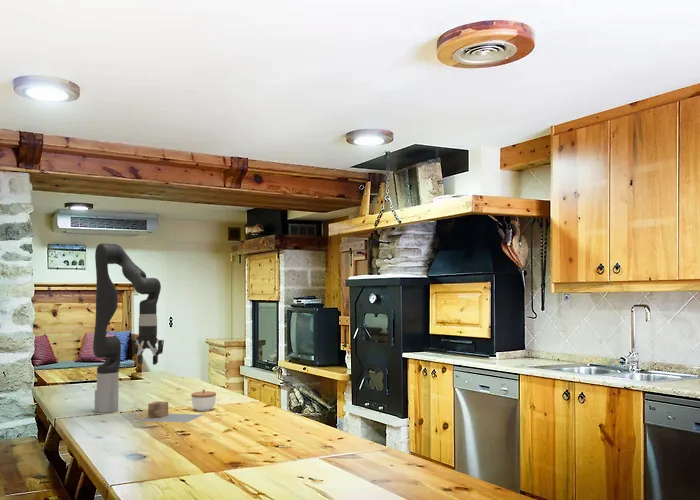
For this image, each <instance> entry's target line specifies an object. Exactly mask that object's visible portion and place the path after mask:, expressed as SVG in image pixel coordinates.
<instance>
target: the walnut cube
mask: <svg viewBox="0 0 700 500" xmlns="http://www.w3.org/2000/svg"><path fill="white" fill-rule="evenodd" d="M147 412H148V414H147V417H148V419H162V418H165V417H167V416H168V414H169V401H153V402H151V403H150V402H149V403H148V405H147Z"/></svg>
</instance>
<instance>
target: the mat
mask: <svg viewBox="0 0 700 500" xmlns="http://www.w3.org/2000/svg"><path fill="white" fill-rule="evenodd" d="M202 416H203V414H197V413H196V414H191V413H190V414H189V413H168V416H167V417H165V418H162V419H148V416H146V417H144V418H141V419H138V420H137V422H159V423H160V422H161V423H163V422H164V423H165V422H166V423H172V422H173V423H189V422H191V421H193V420H196V419H198V418H200V417H202Z"/></svg>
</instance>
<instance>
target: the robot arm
mask: <svg viewBox="0 0 700 500" xmlns="http://www.w3.org/2000/svg"><path fill="white" fill-rule="evenodd" d="M94 261H95V274H96V288H95V289H96V291H95V325H94V331H93V332H94V333H93V342H92V351H93V355H94V356H95V358H97V359H105V358H106V360H105V361H104V362H103V363H102V364H100V365H98V366H97V368H96V389H95V390H94V412H95V413H99V414H104V413H105V414H106V413H107V414H109V413H115V412H118V411H119V397H120V396H119V391H120V390H119V385H120V383H119V382H120V381H119V379H120V378H119V377H120V376H119V374H120V373H119V372H120V371H119V369H120V366H121V355H122V354H121V353H122V344H121V340H120V338H119V337H117V336H114V335H113V336H107V330H108V325H109V323H110V322H111V320H112V318H113V317H114V315H115V313H116V312H117V309H118V303H119V302H118V299H119V297H118V296H119V294H118V290H117V288H116V286H115V284H114V282H113V281H112V279H111V278H110V275H109V268H108V267H109V265H118V266H120V267H121V272H122V275H123V276H124V278H125V279H126V280H127V281H129V282H130V283H131V284H132V286H133V288H134V290H135V291H136V292H137V294H140V295H147V297H146V299H143V300H140V302H139V309H138V310H139V314H138V315H139V316H138V339H132V340H131V346H132V353H133V355H136V356H137V364H138V365H143V363H144V362H143V361H144V359H143V357H144V355H143V353H144V351H145V350H146V349H149V350H150V351H151V353H152V365H153V366H155V365H157V364H158V363H159V355H162V354H163V351H164V350H163V349H164V343H165V340H164V339H158V336H157V335H158V316H157V311H158V310H157V309H158V308H157V307H158V306H157V304H158V302H159V301H158V300H159V297H160V293H161V290H162V289H161V288H162V286H161V282H160V280H159V279H158V278H155V277H147V274H146V272H145V271H144V270H142V268H141V267H139V266H138V265H137V264H136V263H135V262H133V260H132V259H131V258H130V256H129V255H128V253H126V251H125V250H124V249H123V247H122V245H119V244H117V243H116V244H115V243H98V245H97V246H96V248H95V253H94Z"/></svg>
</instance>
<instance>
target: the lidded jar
mask: <svg viewBox="0 0 700 500" xmlns="http://www.w3.org/2000/svg"><path fill="white" fill-rule="evenodd" d="M190 395H191V405H192V407H193V408H194V409H195V410H196V411H197V412H208V411H211V410H212V409H213V408H214V407H215V404H216V396H217V393H216V392H215V391H211V390H210V391H206V389H205V388H203V389H202V391H196V392H192V393H191V394H190Z"/></svg>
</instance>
